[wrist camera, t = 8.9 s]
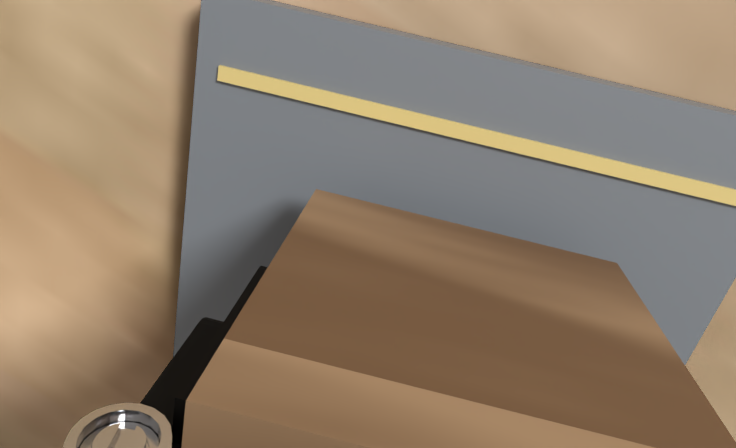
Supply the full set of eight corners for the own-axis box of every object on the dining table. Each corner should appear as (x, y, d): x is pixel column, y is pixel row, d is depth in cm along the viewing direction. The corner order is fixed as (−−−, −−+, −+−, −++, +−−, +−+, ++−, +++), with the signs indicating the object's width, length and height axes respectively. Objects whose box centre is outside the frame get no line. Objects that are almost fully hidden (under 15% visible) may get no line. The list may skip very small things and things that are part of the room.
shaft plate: (572, 514, 16) (626, 722, 11) (182, 413, 16) (82, 578, 12) (786, 122, 11) (1030, 216, 7) (221, -12, 11) (75, -13, 7)
